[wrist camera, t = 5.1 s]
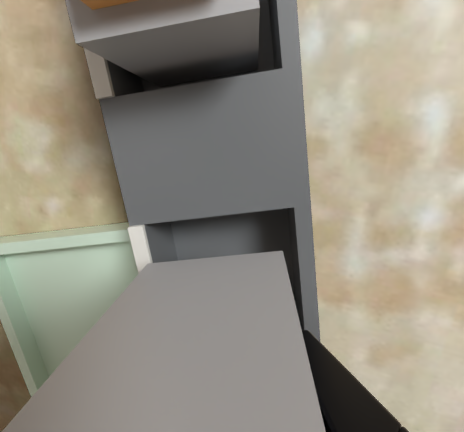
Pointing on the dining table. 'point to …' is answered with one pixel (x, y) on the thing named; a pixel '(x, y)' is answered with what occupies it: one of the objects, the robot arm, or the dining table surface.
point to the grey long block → (218, 159)
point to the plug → (187, 356)
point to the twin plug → (170, 36)
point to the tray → (59, 291)
